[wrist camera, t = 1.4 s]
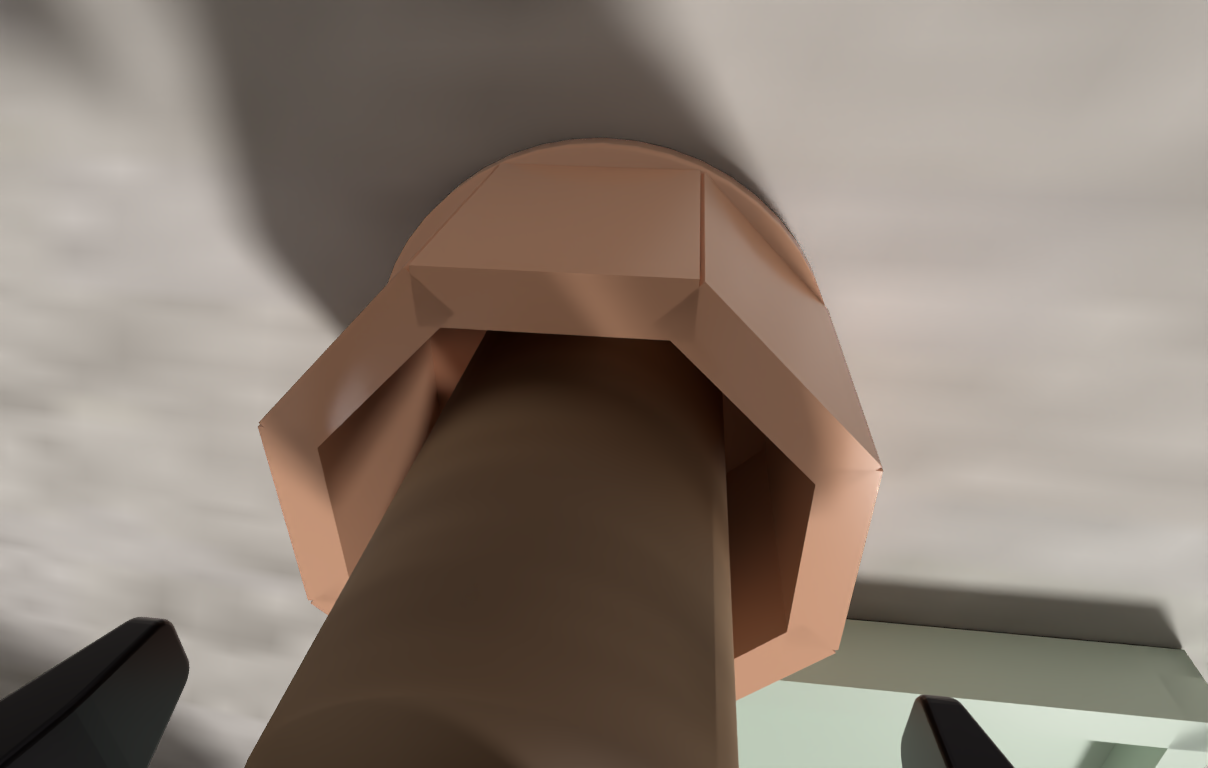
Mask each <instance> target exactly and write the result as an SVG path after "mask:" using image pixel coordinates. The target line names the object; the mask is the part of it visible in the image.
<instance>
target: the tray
mask: <svg viewBox="0 0 1208 768" xmlns="http://www.w3.org/2000/svg"><path fill="white" fill-rule="evenodd" d="M835 652H836V653H835V654H833V655H831V656H828V657H826V658H824V659H822V660H820V661H818V662H816V663H814V664H812V665H810V666H808V667H806V668H803V669H801V670H799V671H797V672H795V673H793V674H791V675H789V676H787V677H785V678H783V679H781V680H778V681H776V682H774V683H772V684H770V685H768V686H766V687H764V688H762V689H760V690H758V691H755V692H753V693H751V694H749V695H747V696H745V697H743V698H741V699H739V700H737V701H736V715H737V738H738V761H739V768H902V762H901V739H902V735H903V732H904V729H905V727H906V724H907V721H908V718H909V715H910V712H911V709H912V707H913V704H914V701H915V699H916V698H917V697H918V696H920V695H924V694H925V695H935V696H945V697H951V698H954V699H956V700H958V701H959V702H960V703H961V704H962V705H963V706H964V707H965V708H966V709H967V711H968V712H969V713H970V714H971V715H972V717H973V718H974V719H975V720H976V722H977V723H978V724H979V725H980V726H981V728H982V729H983V730H984V731H985V732H986V734H987V735H988V736H989V737H990V738H991V740H992V741H993V742H994V743H995V744H996V746H997V747H998V748H999V749H1000V750H1001V752H1002V753H1003V754H1004V755H1005V757H1006V758H1007V759H1008V760H1009V761H1010V763H1011V764H1012V765H1013V766H1014V767H1015V768H1205V767H1206V766H1207V765H1208V684H1207V683H1206V681H1205V680H1204V678H1203V677H1202V675H1201V674H1200V673H1199V671H1198V670H1197V668H1196V667H1195V665H1194V664H1193V662H1192V661H1191V659H1190V658H1189V656H1188V655H1187V653H1186V652H1185V651H1184V650H1180V649H1169V648H1158V647H1147V646H1136V645H1125V644H1114V643H1103V642H1092V641H1081V640H1070V639H1059V638H1048V637H1037V636H1026V635H1015V634H1004V633H993V632H982V631H971V630H960V629H949V628H938V627H927V626H916V625H905V624H894V623H883V622H872V621H861V620H850V619H846V621H845V625H844V629H843V633H842V637H841V641H840V645H839V649H838V650H835Z"/></svg>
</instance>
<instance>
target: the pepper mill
mask: <svg viewBox="0 0 1208 768" xmlns="http://www.w3.org/2000/svg"><path fill="white" fill-rule="evenodd" d="M244 768H739V761H738V738H737V715H736V692H735V670H734V647H733V624H732V601H731V578H730V556H729V533H728V510H727V487H726V464H725V442H724V419H723V396H722V391H721V390H720V389H719V388H718V387H717V386H716V385H715V384H714V383H713V382H712V381H711V380H710V379H709V378H707V377H706V376H705V375H704V374H703V373H702V372H701V371H700V370H699V369H698V368H697V367H696V366H695V365H694V364H693V363H692V362H691V361H690V360H689V359H688V358H687V357H686V356H685V355H684V354H683V353H682V352H681V351H680V350H679V349H678V348H677V347H676V346H675V345H674V344H673V343H672V342H671V341H670V340H653V339H635V338H617V337H600V336H582V335H564V334H546V333H528V332H511V331H493V330H487V331H486V333H485V335H484V337H483V339H482V340H481V342H480V344H479V346H478V348H477V349H476V351H475V353H474V355H473V357H472V358H471V360H470V362H469V364H468V366H467V367H466V369H465V371H464V373H463V375H462V376H461V378H460V380H459V382H458V383H457V385H456V387H455V389H454V391H453V392H452V394H451V396H450V398H449V400H448V401H447V403H446V405H445V407H444V409H443V410H442V412H441V414H440V416H439V418H438V419H437V421H436V423H435V425H434V427H433V428H432V430H431V432H430V434H429V435H428V437H427V439H426V441H425V443H424V444H423V446H422V448H421V450H420V452H419V453H418V455H417V457H416V459H415V461H414V462H413V464H412V466H411V468H410V470H409V471H408V473H407V475H406V477H405V478H404V480H403V482H402V484H401V486H400V487H399V489H398V491H397V493H396V495H395V496H394V498H393V500H392V502H391V504H390V505H389V507H388V509H387V511H386V513H385V514H384V516H383V518H382V520H381V522H380V523H379V525H378V527H377V529H376V530H375V532H374V534H373V536H372V538H371V539H370V541H369V543H368V545H367V547H366V548H365V550H364V552H363V554H362V556H361V557H360V559H359V561H358V563H357V565H356V566H355V568H354V570H353V572H352V574H351V575H350V577H349V579H348V581H347V582H346V584H345V586H344V588H343V590H342V591H341V593H340V595H339V597H338V599H337V600H336V602H335V604H334V606H333V608H332V609H331V611H330V613H329V615H328V617H327V618H326V620H325V622H324V624H323V626H322V627H321V629H320V631H319V633H318V634H317V636H316V638H315V640H314V642H313V643H312V645H311V647H310V649H309V651H308V652H307V654H306V656H305V658H304V660H303V661H302V663H301V665H300V667H299V669H298V670H297V672H296V674H295V676H294V678H293V679H292V681H291V683H290V685H289V686H288V688H287V690H286V692H285V694H284V695H283V697H282V699H281V701H280V703H279V704H278V706H277V708H276V710H275V712H274V713H273V715H272V717H271V719H270V721H269V722H268V724H267V726H266V728H265V730H264V731H263V733H262V735H261V737H260V738H259V740H258V742H257V744H256V746H255V747H254V749H253V751H252V753H251V755H250V756H249V758H248V760H247V763H246V765H245V767H244Z"/></svg>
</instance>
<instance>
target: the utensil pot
mask: <svg viewBox="0 0 1208 768" xmlns="http://www.w3.org/2000/svg"><path fill="white" fill-rule="evenodd" d="M487 330H493V331H511V332H528V333H546V334H564V335H582V336H600V337H617V338H635V339H653V340H670V341H671V342H672V343H673V344H674V345H675V346H676V347H677V348H678V349H679V350H680V351H681V352H682V353H683V354H684V355H685V356H686V357H687V358H688V359H689V360H690V361H691V362H692V363H693V364H694V365H695V366H696V367H697V368H698V369H699V370H700V371H701V372H702V373H703V374H704V375H705V376H706V377H707V378H709V379H710V380H711V381H712V382H713V383H714V384H715V385H716V386H717V387H718V388H719V389H720V390H721V391H722V396H723V419H724V442H725V464H726V487H727V510H728V533H729V556H730V578H731V601H732V624H733V647H734V670H735V692H736V701H737V700H739V699H741V698H743V697H745V696H747V695H749V694H751V693H753V692H755V691H758V690H760V689H762V688H764V687H766V686H768V685H770V684H772V683H774V682H776V681H778V680H781V679H783V678H785V677H787V676H789V675H791V674H793V673H795V672H797V671H799V670H801V669H803V668H806V667H808V666H810V665H812V664H814V663H816V662H818V661H820V660H822V659H824V658H826V657H828V656H831V655H833V654H835V653H836V652H835V650H838V649H839V645H840V641H841V637H842V633H843V629H844V625H845V621H846V617H847V613H848V610H849V606H850V602H851V598H852V594H853V590H854V586H855V582H856V578H857V574H858V570H859V566H860V562H861V558H862V554H863V550H864V546H865V542H866V538H867V534H868V530H869V526H870V522H871V518H872V514H873V510H874V506H875V502H876V498H877V494H878V490H879V486H880V482H881V478H882V474H883V469H882V466H881V463H880V460H879V457H878V454H877V451H876V448H875V445H874V442H873V439H872V436H871V434H870V431H869V428H868V425H867V422H866V419H865V416H864V413H863V410H862V407H861V404H860V401H859V398H858V396H857V393H856V390H855V387H854V384H853V381H852V378H851V375H850V372H849V369H848V366H847V363H846V361H845V358H844V355H843V352H842V349H841V346H840V343H839V340H838V337H837V334H836V331H835V328H834V326H833V323H832V320H831V317H830V314H829V311H828V309H827V308H826V307H825V305H824V302H823V299H822V296H821V293H820V290H819V288H818V285H817V282H816V280H815V277H814V274H813V271H812V269H811V266H810V265H809V263H808V261H807V259H806V257H805V256H804V254H803V252H802V250H801V248H800V246H799V245H798V243H797V241H796V240H795V239H794V237H793V236H792V235H791V233H790V232H789V231H788V229H787V228H786V227H785V225H784V224H783V223H782V221H781V220H780V219H779V217H778V216H777V215H776V214H775V213H774V212H772V211H771V210H770V209H769V208H768V207H767V206H766V205H765V204H764V203H763V202H762V201H761V200H760V199H759V198H758V197H757V196H756V195H755V194H754V193H752V192H751V191H750V190H748V189H747V188H746V187H744V186H743V185H742V184H740V183H739V182H737V181H736V180H735V179H733V178H732V177H731V176H729V175H727V174H725V173H724V172H722V171H720V170H718V169H716V168H714V167H713V166H711V165H709V164H707V163H705V162H704V161H702V160H699V159H696V158H694V157H691V156H689V155H686V154H683V153H681V152H678V151H676V150H673V149H670V148H666V147H662V146H657V145H653V144H649V143H645V142H641V141H633V140H623V139H613V138H586V139H570V140H564V141H558V142H553V143H547V144H542V145H538V146H535V147H532V148H529V149H526V150H523V151H520V152H517V153H514V154H511V155H509V156H507V157H505V158H503V159H501V160H499V161H497V162H495V163H493V164H491V165H489V166H487V167H485V168H483V169H481V170H480V171H479V172H477V173H476V174H474V175H473V176H471V177H470V178H468V179H467V180H466V181H464V182H463V183H461V184H460V185H459V186H458V187H457V188H456V189H454V190H453V191H452V192H451V193H450V194H449V195H448V196H447V197H446V198H445V199H444V200H443V201H442V202H441V203H440V204H439V205H438V206H437V207H436V208H435V209H434V210H433V211H432V212H431V213H429V214H428V215H427V216H426V217H425V219H424V220H423V221H422V223H421V224H420V225H419V226H418V228H417V229H416V230H415V232H414V233H413V234H412V235H411V237H410V238H409V239H408V241H407V243H406V245H405V246H404V248H403V250H402V252H401V254H400V255H399V257H398V259H397V261H396V263H395V265H394V268H393V270H392V273H391V276H390V279H389V281H388V284H387V285H386V286H385V287H384V288H383V289H382V290H381V291H380V292H379V293H378V295H377V296H376V297H375V298H374V299H373V300H372V301H371V302H370V303H369V304H368V305H367V306H366V308H365V309H364V310H363V311H362V312H361V313H360V314H359V315H358V316H357V317H356V318H355V319H354V320H353V322H352V323H351V324H350V325H349V326H348V327H347V328H346V329H345V330H344V331H343V332H342V333H341V334H340V336H339V337H338V338H337V339H336V340H335V341H334V342H333V343H332V344H331V345H330V346H329V347H328V348H327V350H326V351H325V352H324V353H323V354H322V355H321V356H320V357H319V358H318V359H317V360H316V361H315V363H314V364H313V365H312V366H311V367H310V368H309V369H308V370H307V371H306V372H305V373H304V374H303V375H302V377H301V378H300V379H299V380H298V381H297V382H296V383H295V384H294V385H293V386H292V387H291V388H290V389H289V391H288V392H287V393H286V394H285V395H284V396H283V397H282V398H281V399H280V400H279V401H278V402H277V403H276V405H275V406H274V407H273V408H272V409H271V410H270V411H269V412H268V413H267V414H266V415H265V416H264V418H263V419H262V420H261V421H260V422H259V423H260V425H259V426H258V429H259V432H260V436H261V439H262V443H263V446H264V450H265V453H266V456H267V460H268V463H269V467H270V470H271V474H272V477H273V481H274V484H275V487H276V491H277V494H278V498H279V501H280V505H281V508H282V512H283V515H284V519H285V522H286V525H287V529H288V532H289V536H290V539H291V543H292V546H293V550H294V553H295V557H296V560H297V563H298V567H299V570H300V574H301V577H302V581H303V584H304V588H305V591H306V595H307V598H308V600H312V602H311V604H313V605H314V606H316V607H317V608H318V609H320V610H321V611H323V612H324V613H326V614H327V615H329V613H330V611H331V609H332V608H333V606H334V604H335V602H336V600H337V599H338V597H339V595H340V593H341V591H342V590H343V588H344V586H345V584H346V582H347V581H348V579H349V577H350V575H351V574H352V572H353V570H354V568H355V566H356V565H357V563H358V561H359V559H360V557H361V556H362V554H363V552H364V550H365V548H366V547H367V545H368V543H369V541H370V539H371V538H372V536H373V534H374V532H375V530H376V529H377V527H378V525H379V523H380V522H381V520H382V518H383V516H384V514H385V513H386V511H387V509H388V507H389V505H390V504H391V502H392V500H393V498H394V496H395V495H396V493H397V491H398V489H399V487H400V486H401V484H402V482H403V480H404V478H405V477H406V475H407V473H408V471H409V470H410V468H411V466H412V464H413V462H414V461H415V459H416V457H417V455H418V453H419V452H420V450H421V448H422V446H423V444H424V443H425V441H426V439H427V437H428V435H429V434H430V432H431V430H432V428H433V427H434V425H435V423H436V421H437V419H438V418H439V416H440V414H441V412H442V410H443V409H444V407H445V405H446V403H447V401H448V400H449V398H450V396H451V394H452V392H453V391H454V389H455V387H456V385H457V383H458V382H459V380H460V378H461V376H462V375H463V373H464V371H465V369H466V367H467V366H468V364H469V362H470V360H471V358H472V357H473V355H474V353H475V351H476V349H477V348H478V346H479V344H480V342H481V340H482V339H483V337H484V335H485V333H486V331H487Z"/></svg>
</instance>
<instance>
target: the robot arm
mask: <svg viewBox="0 0 1208 768" xmlns="http://www.w3.org/2000/svg"><path fill="white" fill-rule="evenodd" d="M188 674H189V661H188V658H187V656H186V653H185V651H184V649H183V646H182V644H181V642H180V639H179V637H178V635H177V632H176V630H175V628H174V626H173V624H172V623H171V622H170V621H168V620H166V619H159V618H149V617H137V618H133V619H131V620H129V621H127V622H125V623H123V624H122V625H120V626H119V627H117V628H115V629H114V630H112V631H111V632H109V633H107V634H106V635H104V636H103V637H101V638H99V639H98V640H96V641H95V642H93V643H91V644H90V645H88V646H87V647H85V648H83V649H82V650H80V651H79V652H77V653H75V654H74V655H72V656H71V657H69V658H67V659H66V660H64V661H63V662H61V663H60V664H58V665H56V666H55V667H53V668H52V669H50V670H48V671H47V672H45V673H44V674H42V675H40V676H39V677H37V678H36V679H34V680H32V681H31V682H29V683H28V684H26V685H24V686H23V687H21V688H20V689H18V690H16V691H15V692H13V693H12V694H10V695H8V696H7V697H5V698H4V699H2V700H0V768H148V766H149V764H150V761H151V759H152V757H153V755H154V753H155V750H156V748H157V746H158V744H159V741H160V739H161V737H162V735H163V733H164V730H165V728H166V726H167V724H168V722H169V719H170V717H171V715H172V713H173V711H174V708H175V706H176V704H177V702H178V700H179V697H180V695H181V693H182V691H183V689H184V686H185V684H186V681H187V678H188ZM901 762H902V768H1015V767H1014V766H1013V765H1012V764H1011V763H1010V761H1009V760H1008V759H1007V758H1006V757H1005V755H1004V754H1003V753H1002V752H1001V750H1000V749H999V748H998V747H997V746H996V744H995V743H994V742H993V741H992V740H991V738H990V737H989V736H988V735H987V734H986V732H985V731H984V730H983V729H982V728H981V726H980V725H979V724H978V723H977V722H976V720H975V719H974V718H973V717H972V715H971V714H970V713H969V712H968V711H967V709H966V708H965V707H964V706H963V705H962V704H961V703H960V702H959V701H958V700H956V699H954V698H951V697H945V696H935V695H925V694H924V695H920V696H918V697H917V698H916V699H915V701H914V704H913V707H912V709H911V712H910V715H909V718H908V721H907V724H906V727H905V729H904V732H903V735H902V739H901Z"/></svg>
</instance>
